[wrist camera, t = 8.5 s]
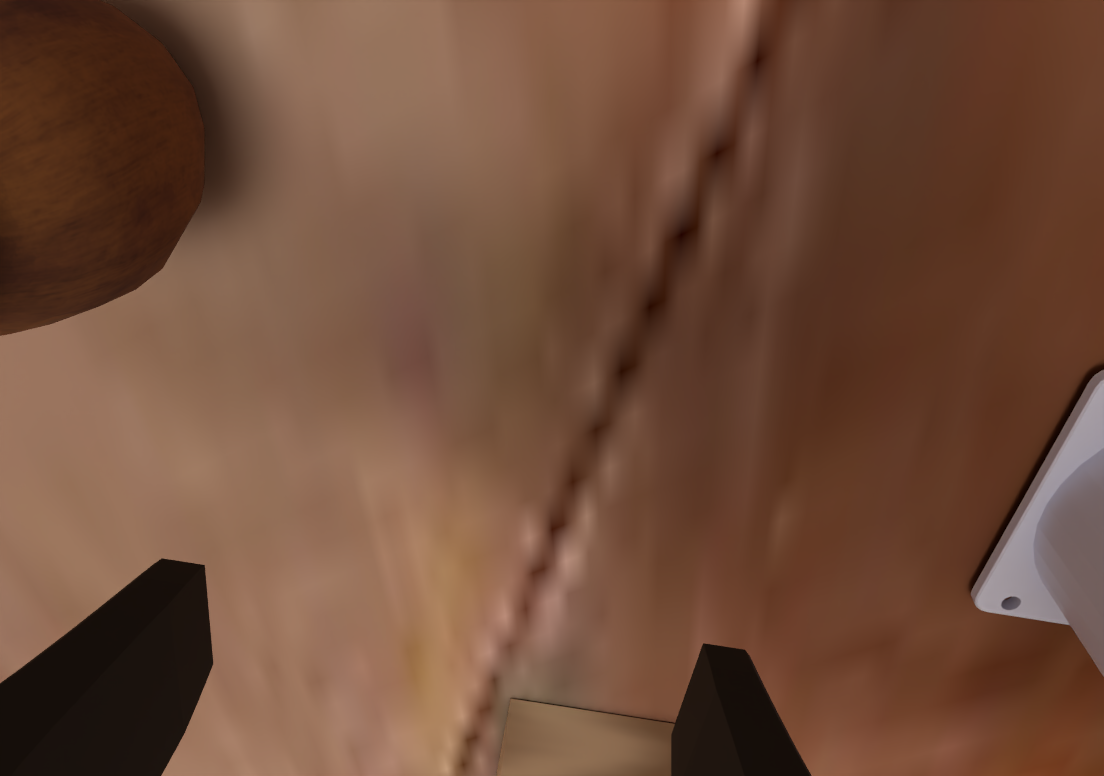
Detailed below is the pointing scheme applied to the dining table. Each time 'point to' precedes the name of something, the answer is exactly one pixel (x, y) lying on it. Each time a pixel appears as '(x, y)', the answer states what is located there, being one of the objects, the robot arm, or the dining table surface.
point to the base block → (581, 743)
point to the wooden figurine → (88, 158)
